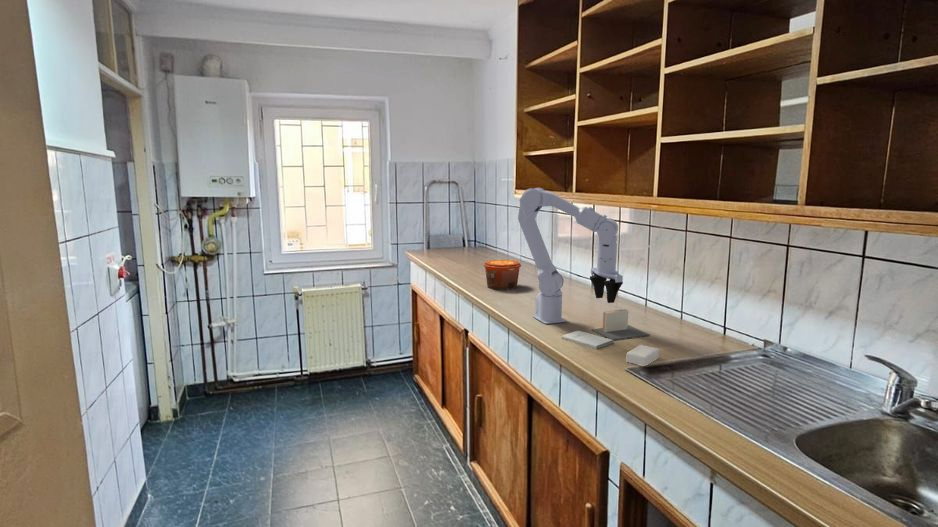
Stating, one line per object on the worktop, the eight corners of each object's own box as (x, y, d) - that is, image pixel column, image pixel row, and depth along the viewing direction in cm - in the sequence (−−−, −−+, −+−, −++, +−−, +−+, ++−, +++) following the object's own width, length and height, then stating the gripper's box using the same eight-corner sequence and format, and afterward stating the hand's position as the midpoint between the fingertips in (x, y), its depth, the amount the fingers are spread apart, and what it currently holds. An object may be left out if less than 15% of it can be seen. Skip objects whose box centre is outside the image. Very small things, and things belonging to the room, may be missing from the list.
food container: (502, 281, 234) (503, 257, 232) (528, 287, 222) (528, 262, 220) (476, 286, 224) (476, 261, 222) (501, 292, 212) (501, 267, 210)
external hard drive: (596, 351, 144) (561, 340, 153) (613, 344, 149) (578, 334, 159) (596, 345, 144) (561, 335, 153) (613, 339, 149) (578, 329, 158)
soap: (645, 368, 130) (646, 357, 130) (624, 363, 134) (625, 352, 134) (659, 359, 137) (660, 348, 137) (639, 354, 141) (640, 343, 140)
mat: (591, 330, 161) (591, 329, 161) (628, 326, 165) (628, 324, 165) (611, 340, 151) (611, 339, 151) (649, 335, 155) (649, 334, 155)
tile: (602, 330, 159) (603, 311, 158) (624, 327, 162) (625, 309, 161) (605, 331, 158) (606, 312, 157) (627, 329, 161) (628, 310, 160)
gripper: (631, 260, 156) (629, 304, 159) (604, 253, 170) (602, 294, 172) (612, 262, 154) (610, 306, 156) (585, 255, 168) (584, 295, 170)
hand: (605, 300), depth 164 cm, fingers open, 6 cm apart
